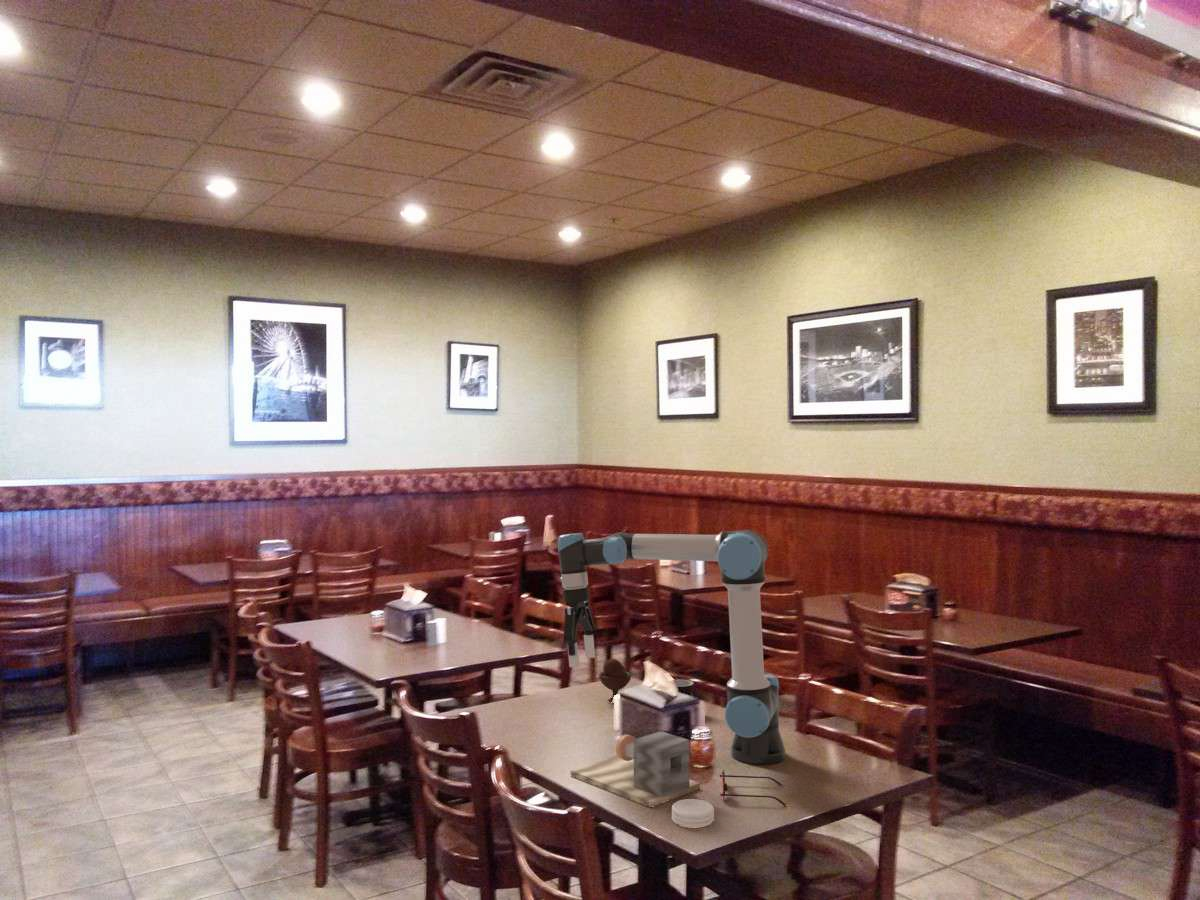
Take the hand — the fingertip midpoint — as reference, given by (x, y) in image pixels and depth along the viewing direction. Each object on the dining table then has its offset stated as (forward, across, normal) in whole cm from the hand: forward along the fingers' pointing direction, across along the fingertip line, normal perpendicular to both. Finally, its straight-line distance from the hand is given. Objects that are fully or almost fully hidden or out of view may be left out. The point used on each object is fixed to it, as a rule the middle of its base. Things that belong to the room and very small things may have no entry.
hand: (582, 662), depth 262 cm
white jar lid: (+32, +34, +36) cm, 59 cm away
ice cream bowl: (+24, -55, -11) cm, 61 cm away
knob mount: (+29, +15, +17) cm, 37 cm away
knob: (+24, +17, +20) cm, 36 cm away
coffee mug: (+27, -50, +14) cm, 59 cm away
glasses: (+33, +13, +47) cm, 59 cm away
